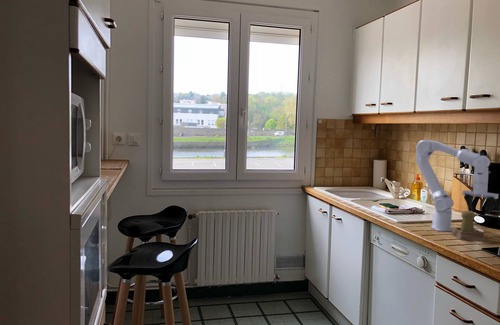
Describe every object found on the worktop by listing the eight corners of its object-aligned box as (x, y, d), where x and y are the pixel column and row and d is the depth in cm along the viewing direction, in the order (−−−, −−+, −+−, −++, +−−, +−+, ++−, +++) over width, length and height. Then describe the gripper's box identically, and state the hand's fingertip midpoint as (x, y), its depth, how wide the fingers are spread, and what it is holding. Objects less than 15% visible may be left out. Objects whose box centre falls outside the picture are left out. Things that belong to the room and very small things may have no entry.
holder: (451, 234, 194) (452, 227, 194) (473, 235, 194) (473, 227, 193) (460, 240, 185) (461, 232, 184) (483, 240, 184) (484, 232, 184)
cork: (470, 234, 191) (472, 210, 191) (477, 237, 185) (478, 212, 185) (456, 233, 192) (458, 209, 191) (462, 237, 186) (464, 212, 185)
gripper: (460, 181, 196) (458, 211, 197) (494, 184, 185) (493, 215, 186) (466, 180, 200) (465, 209, 201) (500, 183, 190) (499, 214, 191)
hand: (479, 212), depth 194 cm, fingers open, 7 cm apart
